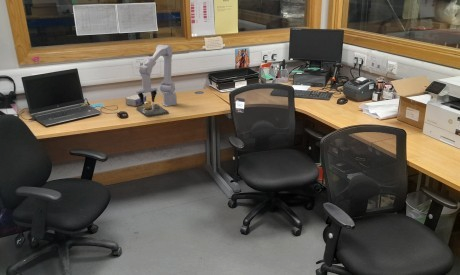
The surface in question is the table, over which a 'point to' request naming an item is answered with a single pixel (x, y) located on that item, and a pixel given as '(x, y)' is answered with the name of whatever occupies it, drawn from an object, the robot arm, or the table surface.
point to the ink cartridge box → (134, 100)
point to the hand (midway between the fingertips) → (147, 102)
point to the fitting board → (156, 111)
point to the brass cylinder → (147, 105)
